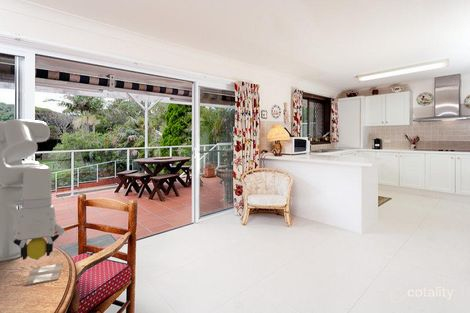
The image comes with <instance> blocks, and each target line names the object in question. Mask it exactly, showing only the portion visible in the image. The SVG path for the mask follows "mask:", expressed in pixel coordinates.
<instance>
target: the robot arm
mask: <svg viewBox="0 0 470 313" xmlns="http://www.w3.org/2000/svg"><path fill="white" fill-rule="evenodd" d="M50 136H51V129H50V127H49V125H48V124H47V123H46V122H44V121H42V120H33V119H24V118H20V119H19V118H15V119H14V118H13V119H8V120H7V121H0V185H1V186H0V262H5V261H11V260H15V259H17V258H20V257H21V258H22V261H23V260H26V259H27V258H28V257H29V256H28V255H27V245H28V243H27V242H28V240H32V239H35V238H44V239H45V240H46V241H47V252H46V256H47V257H49V256H51V253H53V251H54V250H53V249H54V242H55V241H56V240H57V239H58V238H59V237H60V236H62V235H63V234H65V232H66V231H65V229H64V228H62V226H60V225H59V224H57V215H56V210H55V207H54V204H52V168H51V167H49V166H48V165H46V164H41V163H40V162H39V161H38V160H37V161H36V160H23V159H25V158H28V157H30V156H33V155H35V153H36V152H37V151H38V144H37V143H43V142H47V140H49V139H50ZM20 206H21V208H19V209H18V208H17V207H20ZM56 231H57V233H56Z"/></svg>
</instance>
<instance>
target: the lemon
mask: <svg viewBox="0 0 470 313" xmlns="http://www.w3.org/2000/svg"><path fill="white" fill-rule="evenodd" d="M47 243H48V241H47V239H46V238H45V237H44V238H35V239H30V240H29V241H28V243H27V255H28V256H27V257H29V258H30V259H32V260H36V261H37V260H39V259H41V258H43V256H45V255H46V254H47Z"/></svg>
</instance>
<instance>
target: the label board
mask: <svg viewBox="0 0 470 313" xmlns="http://www.w3.org/2000/svg"><path fill="white" fill-rule="evenodd" d="M63 265H64V262H59V263H55V264H49V265H43V266H38V267H33V268H32V270H31V271H30V273H29V275H28V277H27V279H26V280H25V282H24V284H23V287H27V286H32V285H37V284H43V283H48V282H53V281H58V280H59V278H60V275H61V271H62V268H63Z"/></svg>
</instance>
